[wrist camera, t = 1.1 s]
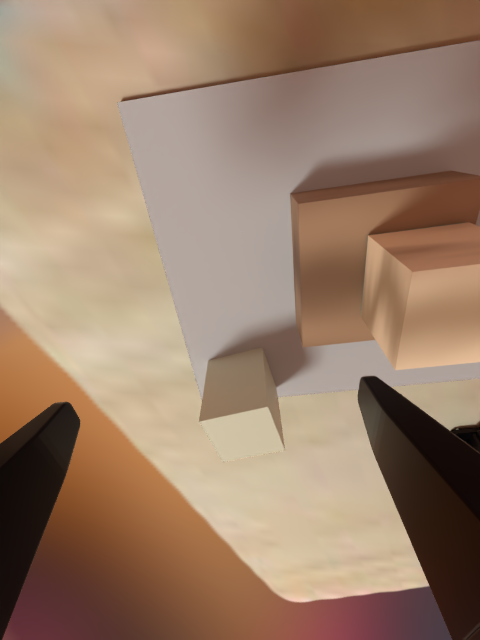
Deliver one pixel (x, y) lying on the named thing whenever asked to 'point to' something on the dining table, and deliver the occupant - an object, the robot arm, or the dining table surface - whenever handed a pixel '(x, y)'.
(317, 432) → the dining table surface
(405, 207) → the plinth
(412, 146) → the mat
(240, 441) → the beige rectangular block
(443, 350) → the maple block
